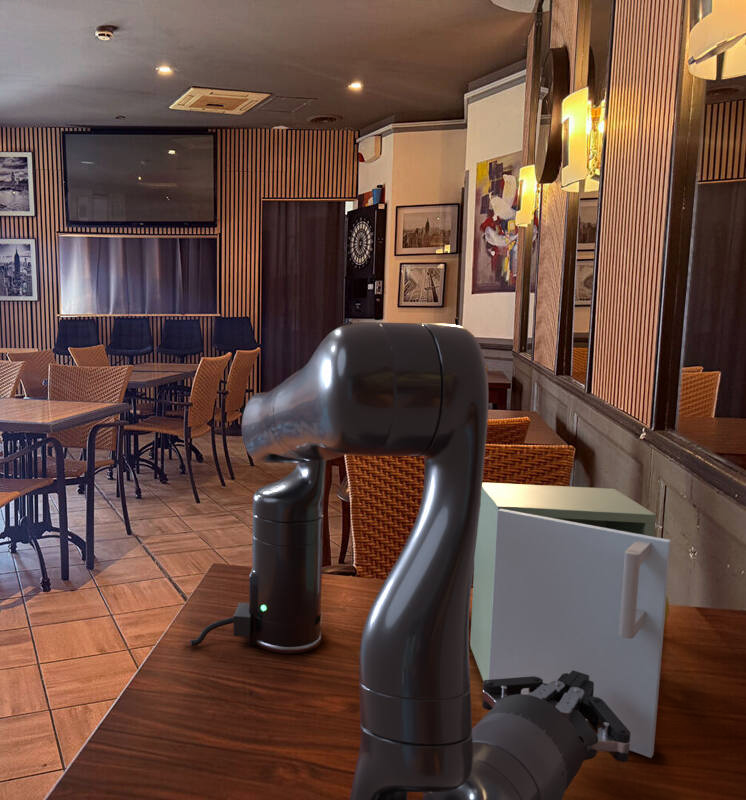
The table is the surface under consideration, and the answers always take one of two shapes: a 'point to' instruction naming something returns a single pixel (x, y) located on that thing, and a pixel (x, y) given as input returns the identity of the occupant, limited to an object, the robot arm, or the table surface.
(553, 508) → the cabinet
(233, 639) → the table surface
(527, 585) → the cabinet door
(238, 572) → the table surface
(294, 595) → the robot arm
